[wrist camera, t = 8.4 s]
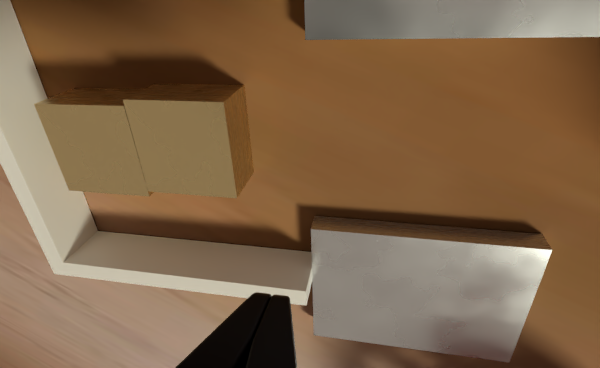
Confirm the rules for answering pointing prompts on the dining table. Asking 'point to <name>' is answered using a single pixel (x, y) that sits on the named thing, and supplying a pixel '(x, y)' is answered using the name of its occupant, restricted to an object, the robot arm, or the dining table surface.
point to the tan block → (192, 138)
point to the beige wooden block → (93, 140)
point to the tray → (108, 245)
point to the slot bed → (431, 238)
